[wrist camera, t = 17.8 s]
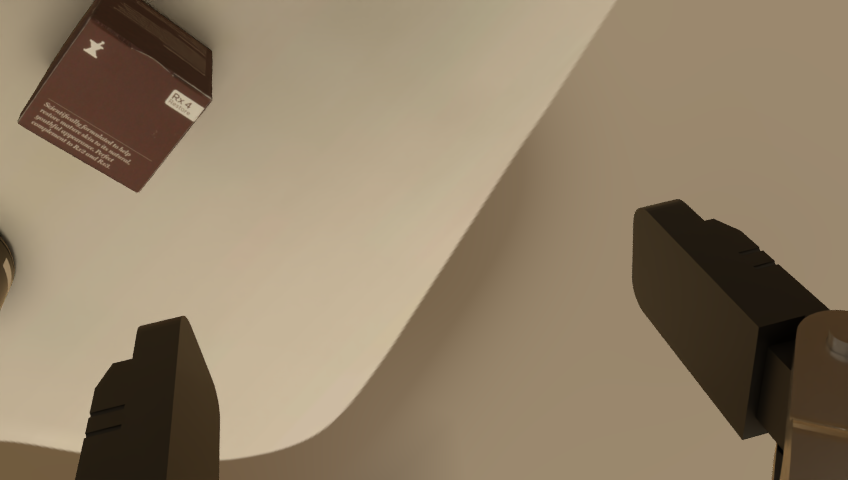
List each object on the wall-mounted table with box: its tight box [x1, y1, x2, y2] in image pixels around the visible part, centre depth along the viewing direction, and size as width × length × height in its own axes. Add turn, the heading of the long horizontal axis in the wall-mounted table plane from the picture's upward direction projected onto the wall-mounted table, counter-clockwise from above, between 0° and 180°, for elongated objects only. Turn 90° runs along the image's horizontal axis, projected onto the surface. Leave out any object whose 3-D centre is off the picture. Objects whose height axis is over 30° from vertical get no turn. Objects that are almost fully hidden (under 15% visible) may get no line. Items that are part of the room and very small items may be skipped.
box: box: [18, 0, 213, 192], centre depth 36 cm, size 6×6×7 cm
